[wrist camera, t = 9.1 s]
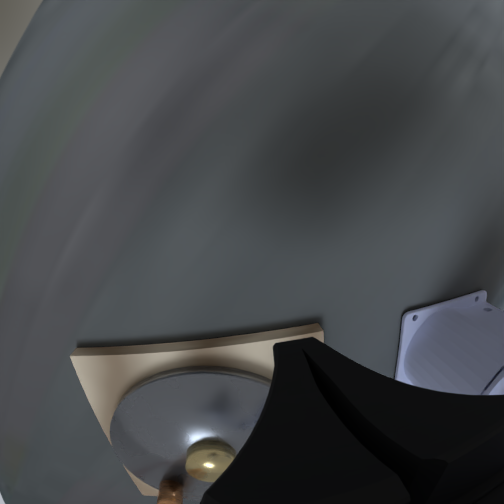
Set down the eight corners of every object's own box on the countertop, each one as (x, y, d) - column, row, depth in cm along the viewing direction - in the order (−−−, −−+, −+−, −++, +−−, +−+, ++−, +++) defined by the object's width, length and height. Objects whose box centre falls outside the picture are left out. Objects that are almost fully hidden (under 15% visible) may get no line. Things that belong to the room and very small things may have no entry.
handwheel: (76, 395, 18) (52, 436, 13) (272, 331, 18) (288, 376, 13) (176, 502, 21) (174, 539, 17) (329, 462, 21) (344, 501, 17)
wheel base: (317, 322, 20) (323, 330, 19) (316, 471, 23) (319, 480, 22) (76, 347, 18) (69, 356, 17) (144, 486, 22) (143, 495, 21)
